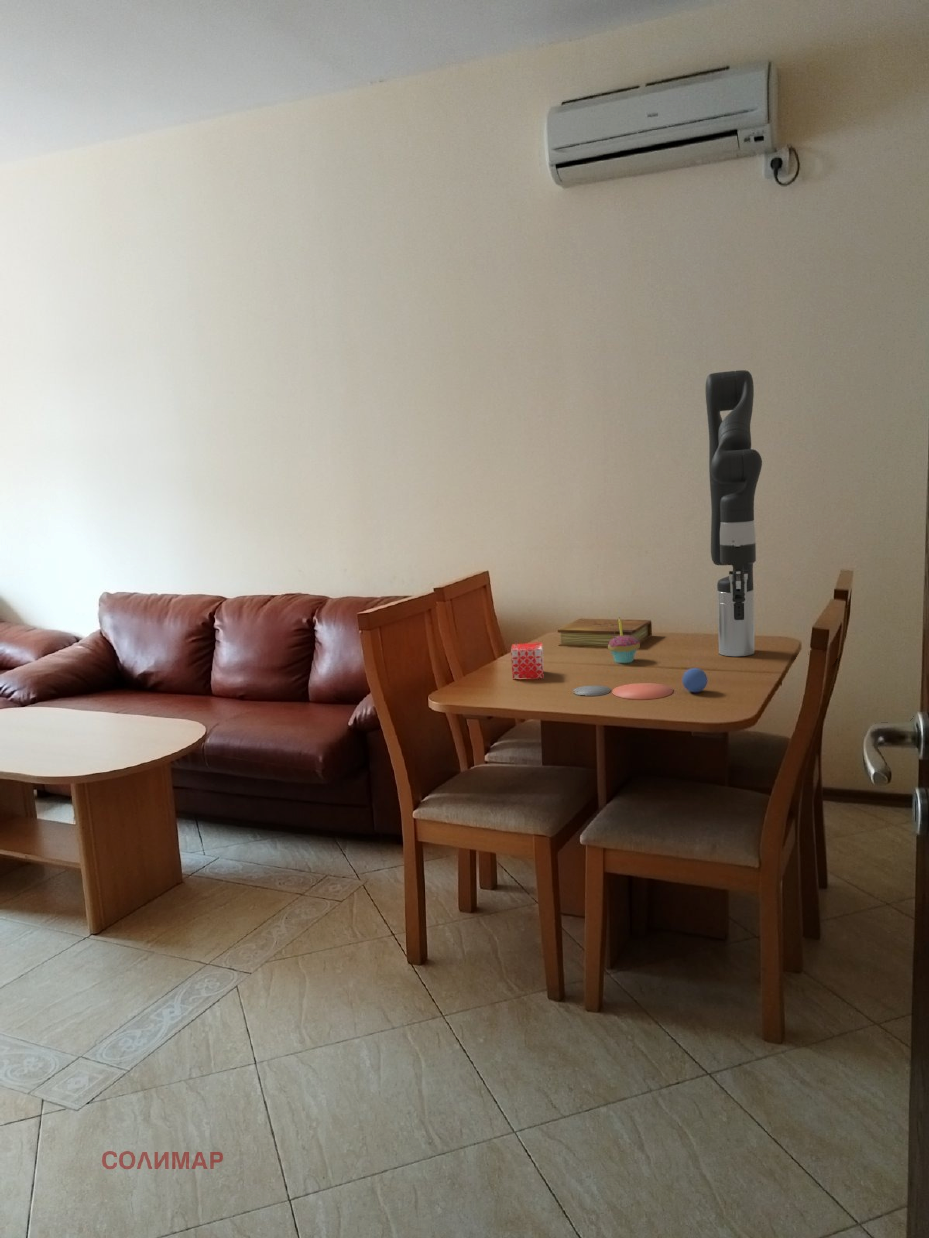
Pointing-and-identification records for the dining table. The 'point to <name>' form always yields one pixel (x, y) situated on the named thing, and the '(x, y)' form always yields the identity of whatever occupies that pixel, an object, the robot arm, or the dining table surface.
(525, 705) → the dining table surface
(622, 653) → the cupcake
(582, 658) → the dining table surface
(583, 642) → the diary
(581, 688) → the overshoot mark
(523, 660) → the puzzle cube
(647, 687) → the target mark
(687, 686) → the ball
